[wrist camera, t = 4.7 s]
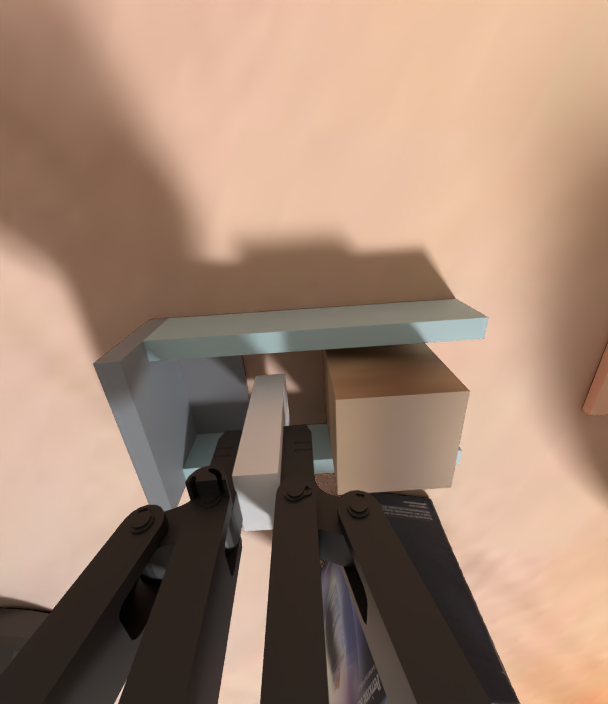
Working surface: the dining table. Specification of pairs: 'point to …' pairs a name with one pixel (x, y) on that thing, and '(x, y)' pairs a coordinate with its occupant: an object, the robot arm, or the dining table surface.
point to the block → (392, 417)
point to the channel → (240, 375)
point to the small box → (445, 589)
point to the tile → (598, 390)
